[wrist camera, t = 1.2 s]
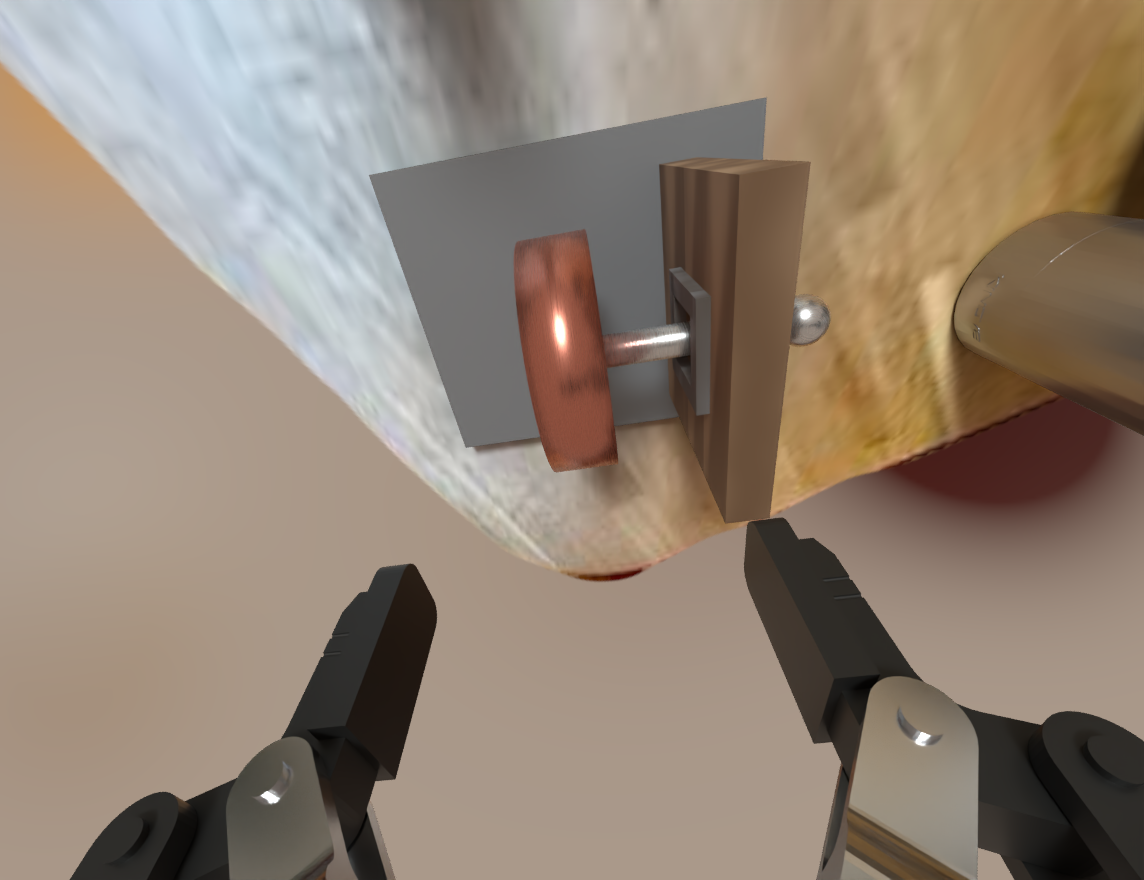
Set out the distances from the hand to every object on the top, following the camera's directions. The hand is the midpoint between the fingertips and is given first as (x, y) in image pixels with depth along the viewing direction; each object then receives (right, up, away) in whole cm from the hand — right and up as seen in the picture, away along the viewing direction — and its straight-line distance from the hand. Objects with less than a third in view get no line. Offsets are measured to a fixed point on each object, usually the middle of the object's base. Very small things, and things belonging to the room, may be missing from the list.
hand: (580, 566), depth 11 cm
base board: (+1, +12, +18) cm, 22 cm away
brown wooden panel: (+6, +12, +17) cm, 22 cm away
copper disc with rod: (+5, +11, +15) cm, 19 cm away
